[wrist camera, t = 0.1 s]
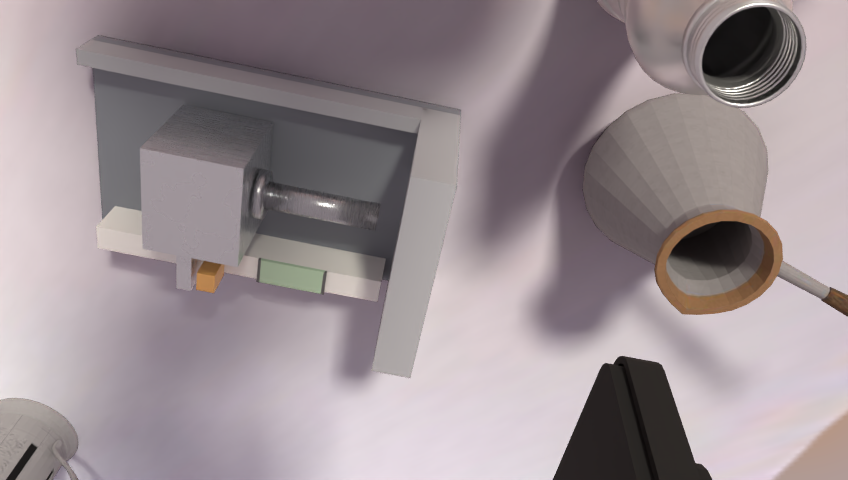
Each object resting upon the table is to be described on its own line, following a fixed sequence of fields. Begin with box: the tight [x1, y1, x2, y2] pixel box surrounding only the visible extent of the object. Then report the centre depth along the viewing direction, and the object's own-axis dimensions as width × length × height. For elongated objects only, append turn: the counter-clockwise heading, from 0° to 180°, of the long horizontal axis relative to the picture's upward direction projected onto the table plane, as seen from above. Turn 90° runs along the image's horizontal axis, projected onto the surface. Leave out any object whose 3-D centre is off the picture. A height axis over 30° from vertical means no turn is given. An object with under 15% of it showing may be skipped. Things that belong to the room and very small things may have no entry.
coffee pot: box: [583, 94, 848, 316], centre depth 42 cm, size 21×12×15 cm, turn 69°
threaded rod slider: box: [140, 104, 381, 291], centre depth 47 cm, size 11×14×7 cm
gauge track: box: [76, 35, 461, 378], centre depth 45 cm, size 14×24×11 cm, turn 79°
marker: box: [196, 261, 224, 293], centre depth 48 cm, size 1×1×2 cm
